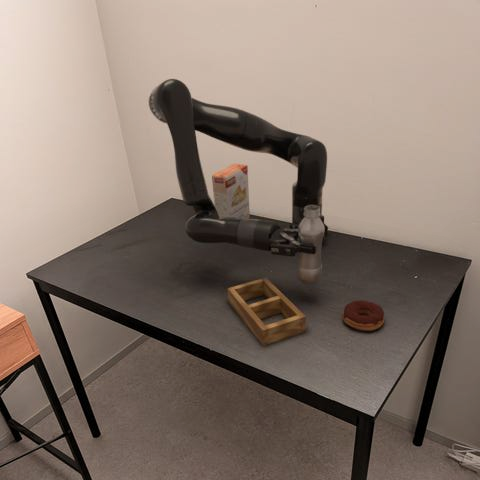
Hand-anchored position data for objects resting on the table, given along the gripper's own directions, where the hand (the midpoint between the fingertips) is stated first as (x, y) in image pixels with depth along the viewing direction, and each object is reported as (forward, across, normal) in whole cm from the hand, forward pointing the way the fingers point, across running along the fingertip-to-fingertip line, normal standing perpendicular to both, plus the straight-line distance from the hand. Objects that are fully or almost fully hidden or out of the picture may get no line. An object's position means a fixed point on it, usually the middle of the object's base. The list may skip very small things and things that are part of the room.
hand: (320, 244), depth 111 cm
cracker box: (-43, +36, +17) cm, 58 cm away
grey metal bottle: (-2, 0, +11) cm, 11 cm away
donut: (+13, -5, +17) cm, 22 cm away
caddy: (-10, -11, +17) cm, 23 cm away
